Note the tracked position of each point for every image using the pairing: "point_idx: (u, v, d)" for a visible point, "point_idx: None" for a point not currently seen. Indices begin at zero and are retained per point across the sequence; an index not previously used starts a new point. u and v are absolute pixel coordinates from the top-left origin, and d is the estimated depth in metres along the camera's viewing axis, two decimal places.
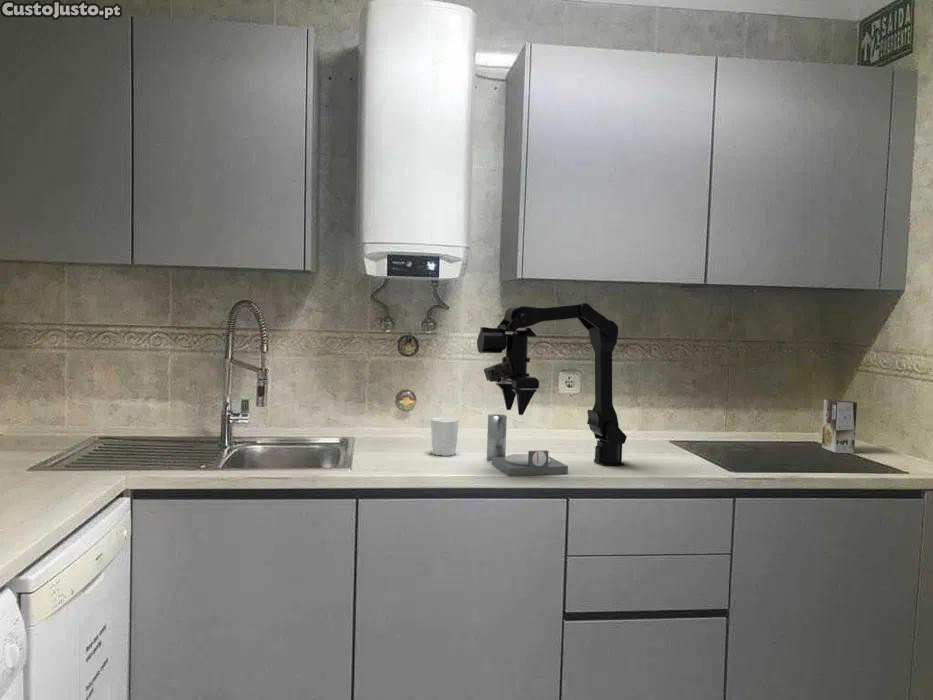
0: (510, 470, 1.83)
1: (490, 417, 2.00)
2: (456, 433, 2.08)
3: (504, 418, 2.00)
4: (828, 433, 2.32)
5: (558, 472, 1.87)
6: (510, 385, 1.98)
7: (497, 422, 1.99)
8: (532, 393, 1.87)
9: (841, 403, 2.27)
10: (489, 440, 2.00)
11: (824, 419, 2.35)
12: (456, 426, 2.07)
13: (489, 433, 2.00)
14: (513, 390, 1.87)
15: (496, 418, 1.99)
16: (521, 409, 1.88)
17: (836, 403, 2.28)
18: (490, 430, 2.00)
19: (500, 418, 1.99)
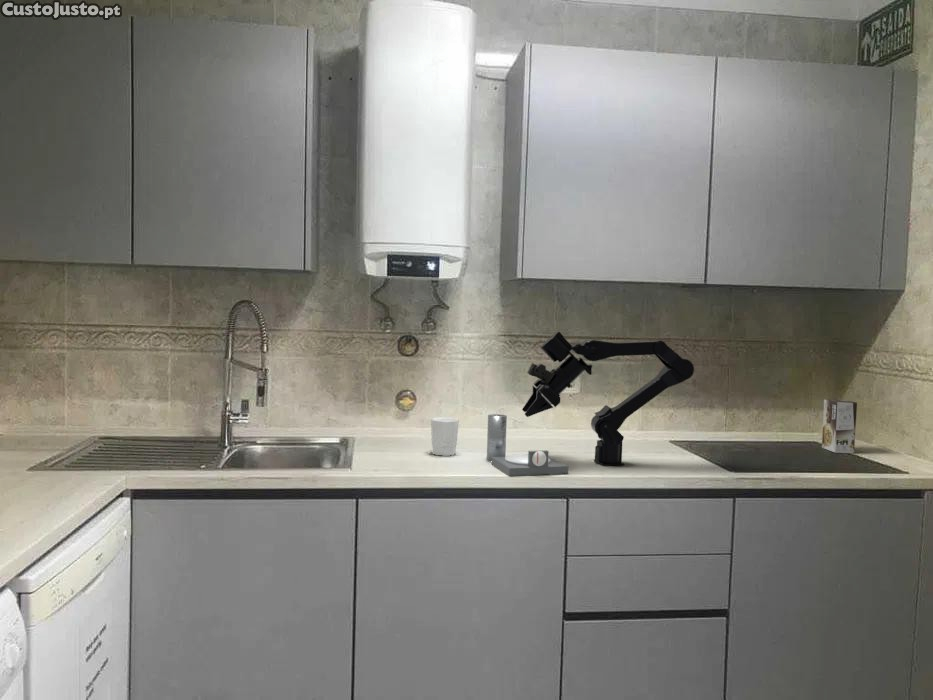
0: (510, 470, 1.83)
1: (490, 417, 2.00)
2: (456, 433, 2.08)
3: (504, 418, 2.00)
4: (828, 433, 2.32)
5: (558, 472, 1.87)
6: None
7: (497, 422, 1.99)
8: (547, 407, 1.95)
9: (841, 403, 2.27)
10: (489, 440, 2.00)
11: (824, 419, 2.35)
12: (456, 426, 2.07)
13: (489, 433, 2.00)
14: None
15: (496, 418, 1.99)
16: (529, 411, 1.96)
17: (836, 403, 2.28)
18: (490, 430, 2.00)
19: (500, 418, 1.99)
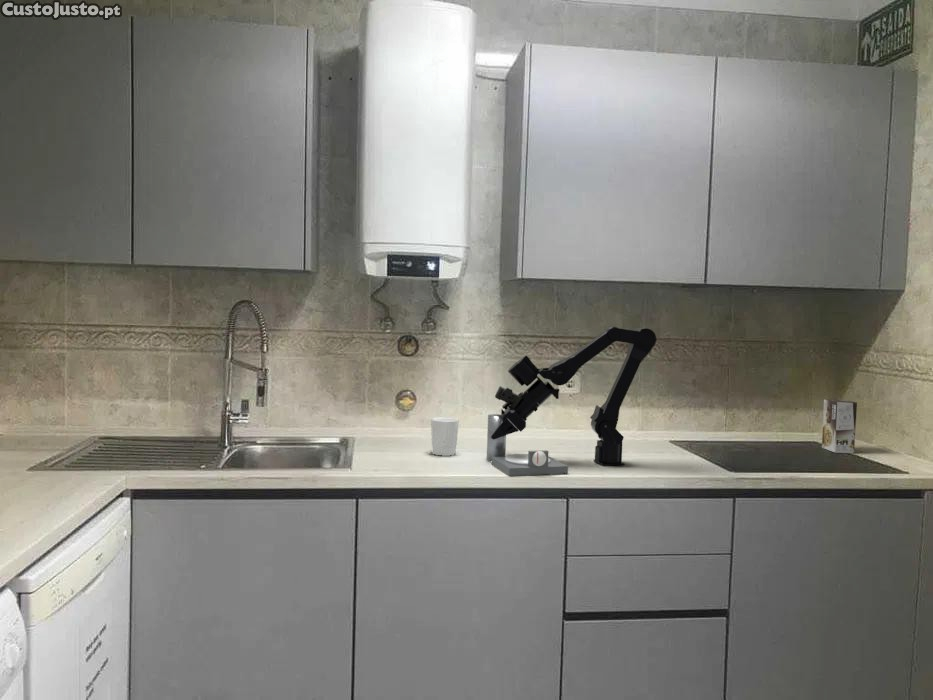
0: (510, 470, 1.83)
1: (490, 417, 2.00)
2: (456, 433, 2.08)
3: None
4: (828, 433, 2.32)
5: (558, 472, 1.87)
6: None
7: (497, 422, 1.99)
8: (513, 431, 1.97)
9: (841, 403, 2.27)
10: (489, 440, 2.00)
11: (824, 419, 2.35)
12: (456, 426, 2.07)
13: (489, 433, 2.00)
14: None
15: (496, 418, 1.99)
16: (495, 434, 1.98)
17: (836, 403, 2.28)
18: (490, 430, 2.00)
19: (500, 418, 1.99)
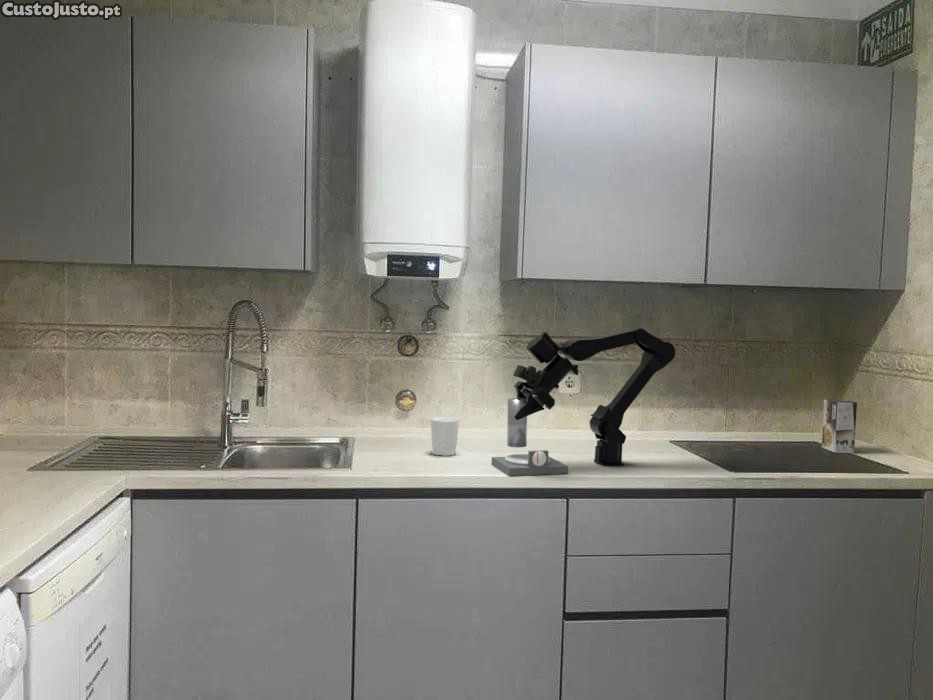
0: (510, 470, 1.83)
1: (512, 401, 1.93)
2: (456, 433, 2.08)
3: None
4: (828, 433, 2.32)
5: (558, 472, 1.87)
6: None
7: (520, 406, 1.93)
8: (538, 409, 1.92)
9: (841, 403, 2.27)
10: (511, 425, 1.93)
11: (824, 419, 2.35)
12: (456, 426, 2.07)
13: (511, 418, 1.93)
14: (526, 394, 1.91)
15: (519, 402, 1.92)
16: (519, 414, 1.92)
17: (836, 403, 2.28)
18: (513, 414, 1.93)
19: (523, 401, 1.93)
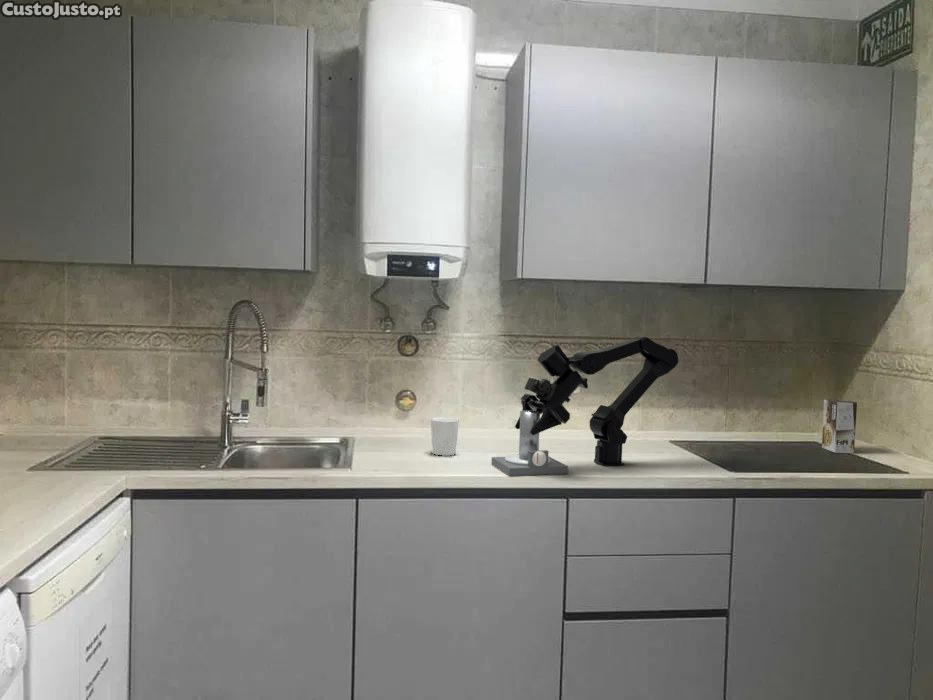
0: (510, 470, 1.83)
1: (526, 413, 1.90)
2: (456, 433, 2.08)
3: (539, 414, 1.92)
4: (828, 433, 2.32)
5: (558, 472, 1.87)
6: None
7: (534, 418, 1.90)
8: (555, 424, 1.88)
9: (841, 403, 2.27)
10: (525, 438, 1.91)
11: (824, 419, 2.35)
12: (456, 426, 2.07)
13: (525, 430, 1.91)
14: (543, 409, 1.87)
15: (533, 414, 1.90)
16: (536, 429, 1.88)
17: (836, 403, 2.28)
18: (526, 427, 1.90)
19: (536, 414, 1.90)
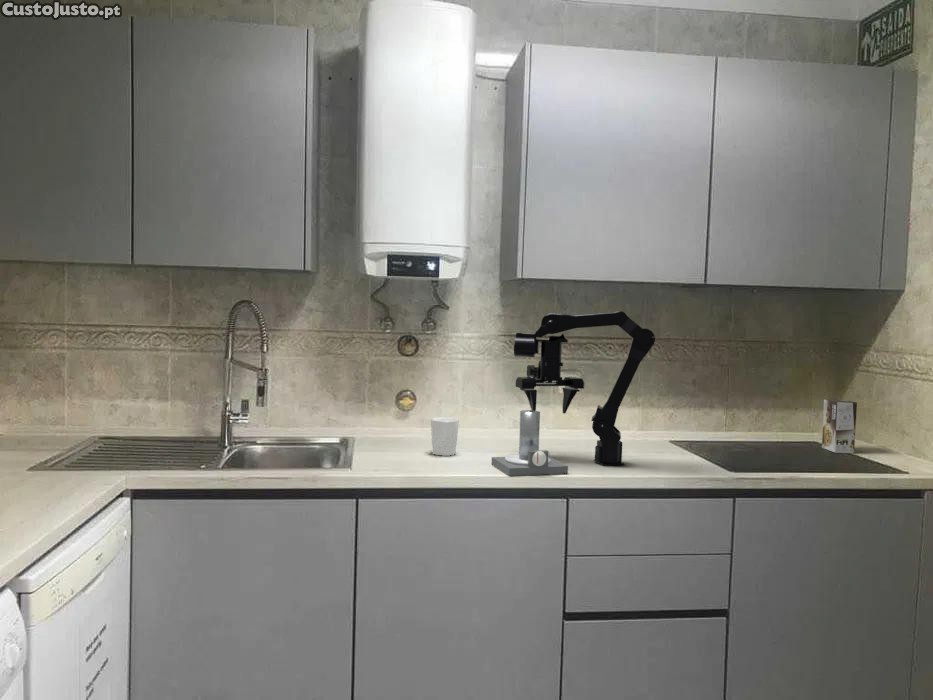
0: (510, 470, 1.83)
1: (526, 413, 1.90)
2: (456, 433, 2.08)
3: (539, 414, 1.92)
4: (828, 433, 2.32)
5: (558, 472, 1.87)
6: (567, 390, 2.06)
7: (534, 418, 1.90)
8: None
9: (841, 403, 2.27)
10: (525, 438, 1.91)
11: (824, 419, 2.35)
12: (456, 426, 2.07)
13: (525, 430, 1.91)
14: None
15: (533, 414, 1.90)
16: (531, 408, 2.03)
17: (836, 403, 2.28)
18: (527, 427, 1.90)
19: (537, 414, 1.90)
